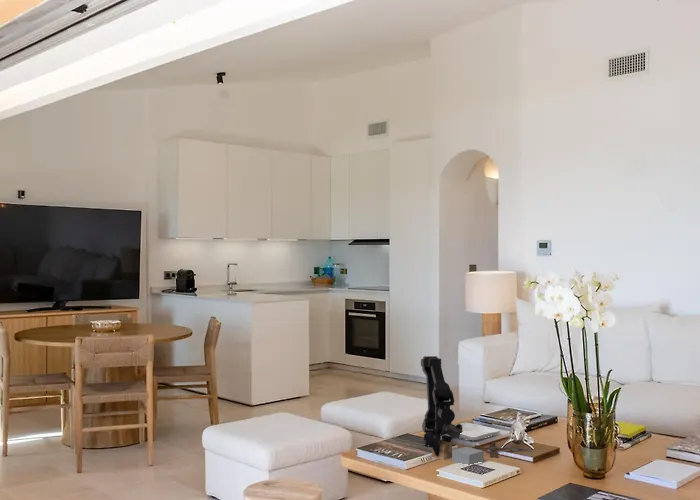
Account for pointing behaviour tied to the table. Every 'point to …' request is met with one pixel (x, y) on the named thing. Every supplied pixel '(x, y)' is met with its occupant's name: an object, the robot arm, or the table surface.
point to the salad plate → (476, 427)
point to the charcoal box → (467, 455)
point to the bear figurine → (492, 449)
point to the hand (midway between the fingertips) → (441, 454)
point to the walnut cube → (444, 450)
